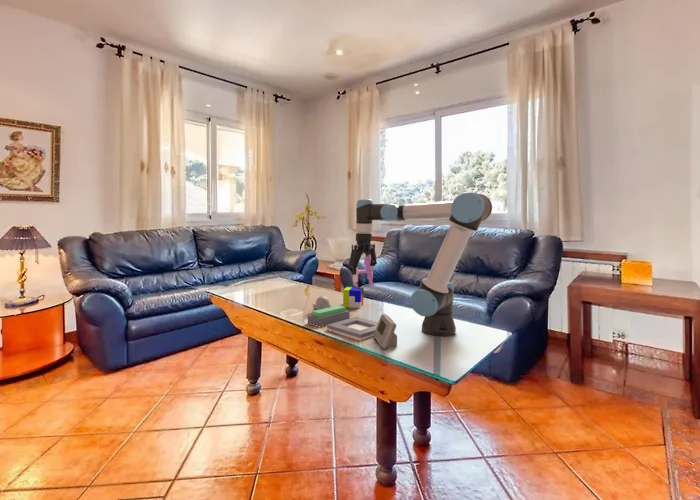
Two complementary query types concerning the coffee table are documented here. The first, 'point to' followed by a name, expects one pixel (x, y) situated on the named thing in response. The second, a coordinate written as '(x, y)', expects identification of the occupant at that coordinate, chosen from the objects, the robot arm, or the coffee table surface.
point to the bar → (328, 311)
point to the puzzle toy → (353, 297)
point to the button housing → (329, 318)
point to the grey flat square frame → (354, 328)
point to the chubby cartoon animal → (321, 303)
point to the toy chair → (366, 270)
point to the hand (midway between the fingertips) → (362, 280)
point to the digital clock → (386, 332)
